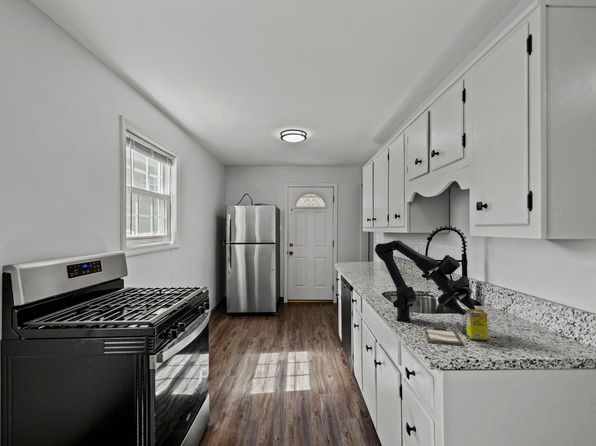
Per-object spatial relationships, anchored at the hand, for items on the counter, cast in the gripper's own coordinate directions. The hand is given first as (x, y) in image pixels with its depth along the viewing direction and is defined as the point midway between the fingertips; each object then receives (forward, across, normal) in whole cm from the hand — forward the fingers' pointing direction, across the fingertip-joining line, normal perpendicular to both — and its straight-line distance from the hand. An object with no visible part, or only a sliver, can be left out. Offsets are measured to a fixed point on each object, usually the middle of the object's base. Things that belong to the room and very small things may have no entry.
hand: (469, 312), depth 130 cm
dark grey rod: (+2, +7, +11) cm, 14 cm away
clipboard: (+2, -9, +12) cm, 15 cm away
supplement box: (+9, 0, +5) cm, 10 cm away
